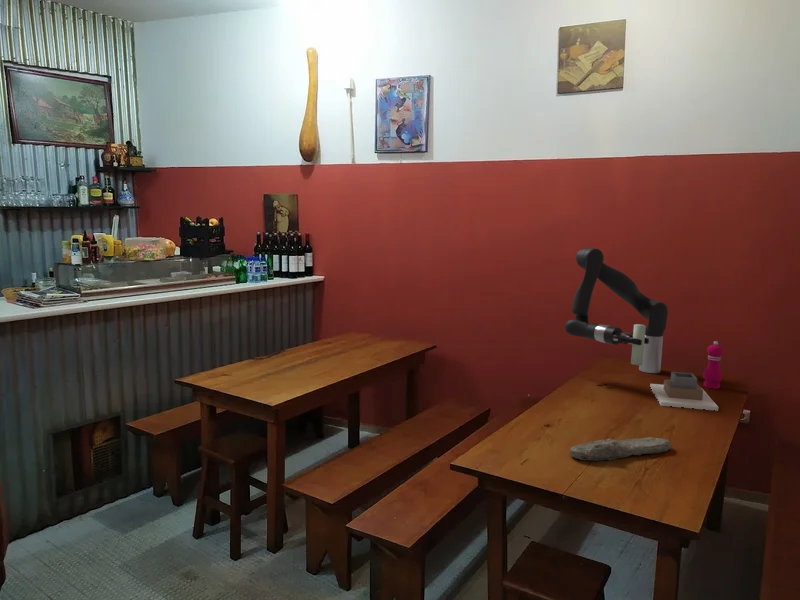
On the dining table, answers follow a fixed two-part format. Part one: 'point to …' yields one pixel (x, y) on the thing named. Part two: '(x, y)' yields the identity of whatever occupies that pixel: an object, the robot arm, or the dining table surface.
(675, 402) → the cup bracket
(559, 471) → the dining table surface
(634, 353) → the green dowel
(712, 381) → the pepper mill
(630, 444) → the elongated rock
